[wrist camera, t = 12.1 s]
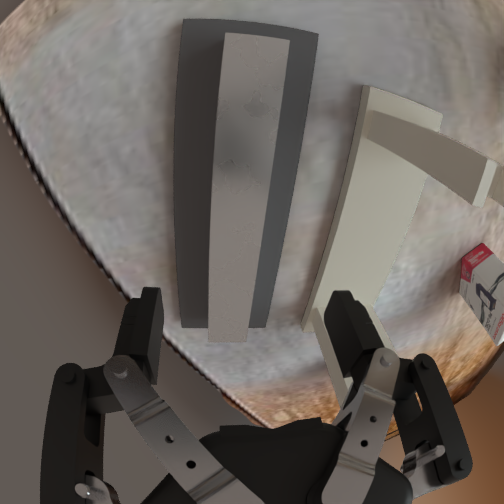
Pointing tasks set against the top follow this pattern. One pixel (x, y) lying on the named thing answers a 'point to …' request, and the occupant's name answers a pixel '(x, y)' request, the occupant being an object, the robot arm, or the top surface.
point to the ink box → (484, 289)
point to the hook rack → (388, 204)
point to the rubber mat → (201, 158)
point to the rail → (242, 175)
